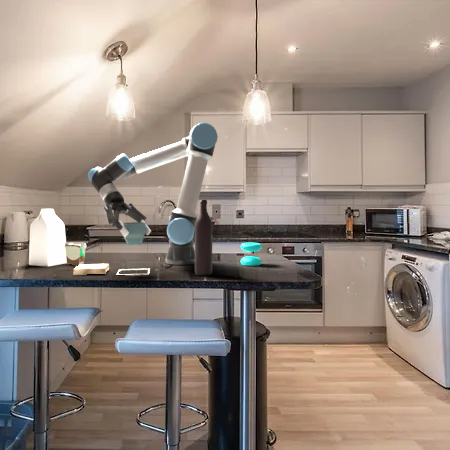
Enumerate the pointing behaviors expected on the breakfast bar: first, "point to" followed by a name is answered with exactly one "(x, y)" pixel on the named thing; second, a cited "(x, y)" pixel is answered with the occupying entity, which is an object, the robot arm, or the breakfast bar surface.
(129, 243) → the flower pot
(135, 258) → the breakfast bar surface
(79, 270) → the bread slice
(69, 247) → the food container
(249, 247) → the pair of cyan ovals
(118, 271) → the seat outline
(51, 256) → the milk
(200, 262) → the wine bottle
